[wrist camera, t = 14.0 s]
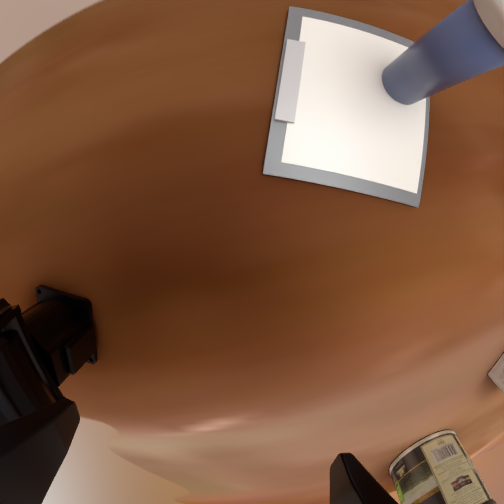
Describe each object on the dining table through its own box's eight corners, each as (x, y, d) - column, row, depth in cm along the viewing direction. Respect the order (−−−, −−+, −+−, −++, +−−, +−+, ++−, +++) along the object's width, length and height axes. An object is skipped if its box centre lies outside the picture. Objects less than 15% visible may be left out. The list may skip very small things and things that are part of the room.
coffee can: (395, 483, 26) (417, 554, 13) (381, 458, 24) (410, 549, 11) (456, 449, 25) (490, 513, 11) (455, 416, 23) (503, 495, 9)
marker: (387, 106, 16) (528, 36, 3) (374, 61, 15) (484, -39, 2) (426, 106, 15) (565, 61, 3) (414, 64, 15) (531, -9, 2)
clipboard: (262, 174, 18) (262, 173, 17) (289, 10, 15) (290, 2, 14) (414, 206, 18) (421, 208, 17) (425, 51, 15) (431, 46, 14)
